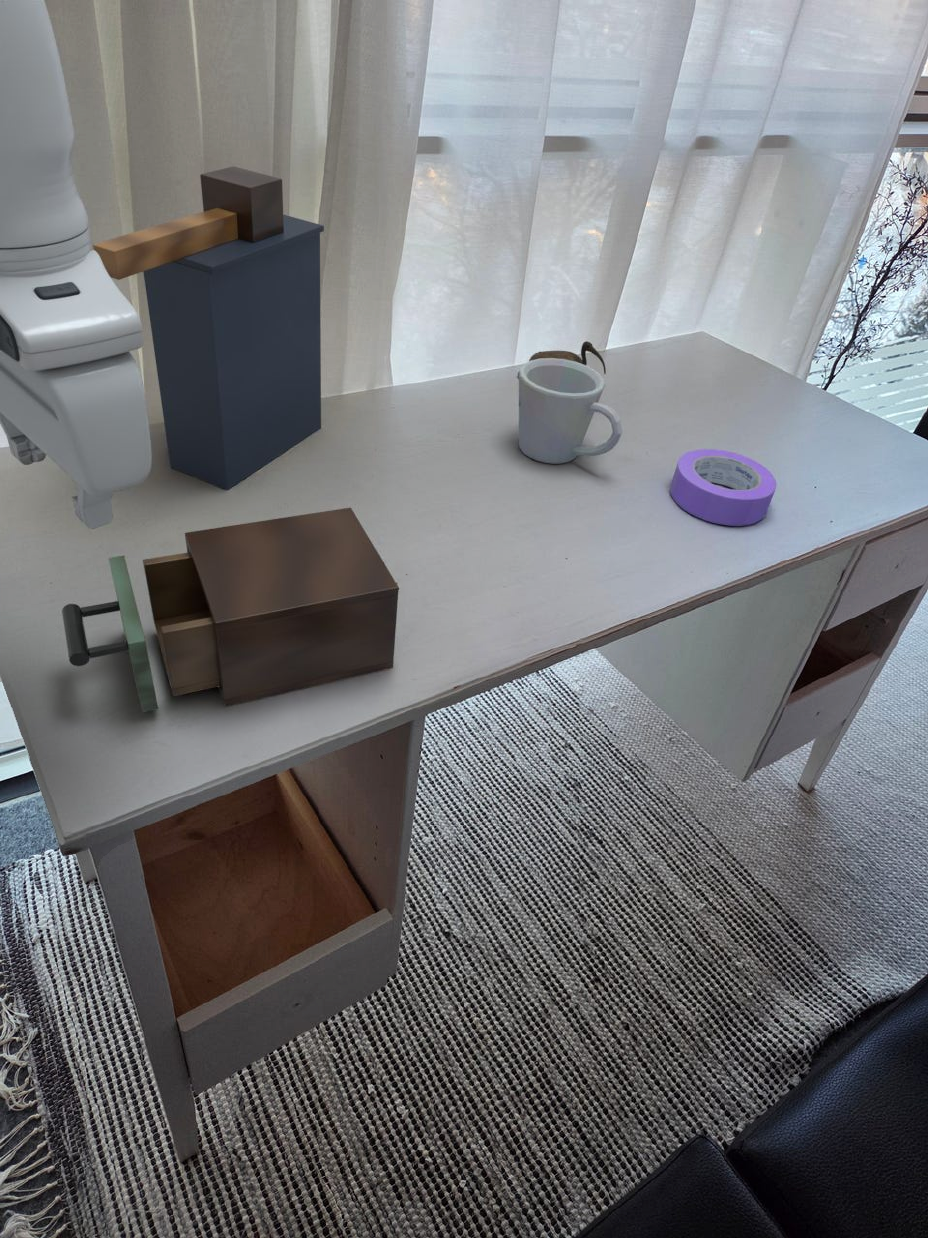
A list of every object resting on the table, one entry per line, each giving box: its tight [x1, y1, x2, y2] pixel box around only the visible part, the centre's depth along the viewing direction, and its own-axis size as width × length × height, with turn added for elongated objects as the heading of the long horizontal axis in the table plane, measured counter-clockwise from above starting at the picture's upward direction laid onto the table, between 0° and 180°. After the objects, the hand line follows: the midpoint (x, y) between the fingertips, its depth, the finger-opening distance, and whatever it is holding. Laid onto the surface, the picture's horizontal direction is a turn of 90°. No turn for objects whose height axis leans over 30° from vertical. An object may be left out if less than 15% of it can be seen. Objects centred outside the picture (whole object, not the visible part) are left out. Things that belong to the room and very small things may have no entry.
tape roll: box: [669, 448, 777, 527], centre depth 100 cm, size 12×12×4 cm
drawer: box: [61, 552, 221, 713], centre depth 69 cm, size 18×11×7 cm, turn 114°
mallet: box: [92, 166, 284, 281], centre depth 78 cm, size 21×6×5 cm, turn 153°
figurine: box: [517, 340, 607, 378], centre depth 117 cm, size 14×4×9 cm, turn 40°
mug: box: [518, 358, 623, 465], centre depth 102 cm, size 10×15×10 cm
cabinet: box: [184, 507, 400, 708], centre depth 72 cm, size 15×12×9 cm
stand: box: [142, 213, 325, 491], centre depth 92 cm, size 18×9×24 cm, turn 153°
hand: (61, 488), depth 56 cm, fingers open, 8 cm apart
